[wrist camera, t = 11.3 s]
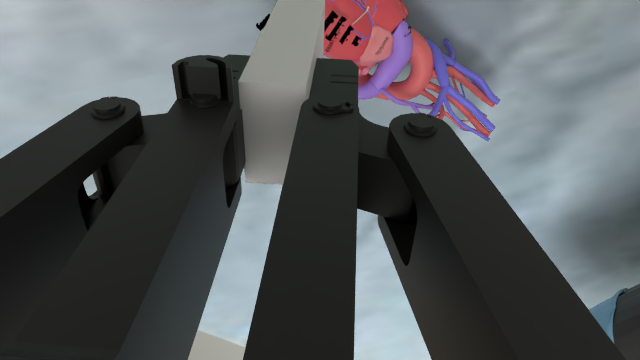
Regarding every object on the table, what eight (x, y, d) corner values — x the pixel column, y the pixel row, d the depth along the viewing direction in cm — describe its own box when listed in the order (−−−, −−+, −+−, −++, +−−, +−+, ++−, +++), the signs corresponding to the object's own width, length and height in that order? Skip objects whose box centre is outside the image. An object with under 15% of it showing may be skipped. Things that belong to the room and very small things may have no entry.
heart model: (342, -118, 38) (551, 22, 40) (297, -15, 46) (476, 100, 47) (248, -32, 27) (542, 157, 29) (207, 86, 35) (445, 232, 36)
